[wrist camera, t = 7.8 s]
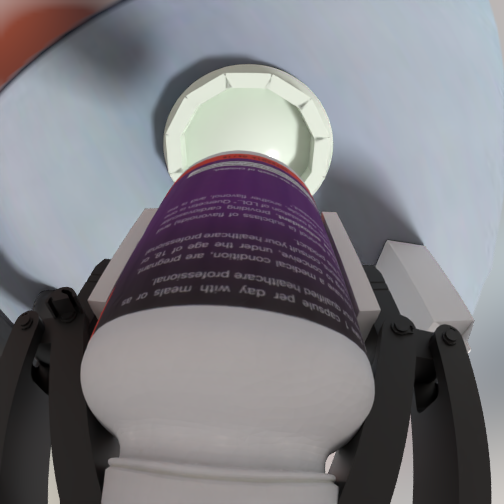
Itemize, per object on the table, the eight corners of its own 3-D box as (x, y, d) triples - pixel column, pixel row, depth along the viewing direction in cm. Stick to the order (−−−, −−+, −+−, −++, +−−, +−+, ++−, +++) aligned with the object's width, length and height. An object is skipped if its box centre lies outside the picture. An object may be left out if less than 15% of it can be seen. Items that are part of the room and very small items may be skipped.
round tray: (173, 218, 34) (167, 230, 32) (162, 69, 24) (152, 69, 21) (320, 221, 34) (325, 234, 32) (337, 72, 24) (345, 71, 21)
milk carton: (369, 278, 39) (411, 391, 24) (386, 238, 35) (448, 352, 20) (406, 281, 40) (453, 383, 24) (424, 244, 36) (489, 346, 20)
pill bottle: (154, 157, 14) (-36, 440, 2) (311, 138, 13) (488, 494, 1) (188, 277, 18) (139, 511, 6) (313, 267, 18) (354, 517, 6)
